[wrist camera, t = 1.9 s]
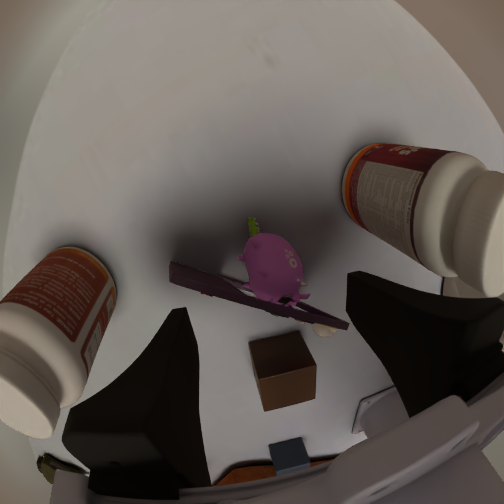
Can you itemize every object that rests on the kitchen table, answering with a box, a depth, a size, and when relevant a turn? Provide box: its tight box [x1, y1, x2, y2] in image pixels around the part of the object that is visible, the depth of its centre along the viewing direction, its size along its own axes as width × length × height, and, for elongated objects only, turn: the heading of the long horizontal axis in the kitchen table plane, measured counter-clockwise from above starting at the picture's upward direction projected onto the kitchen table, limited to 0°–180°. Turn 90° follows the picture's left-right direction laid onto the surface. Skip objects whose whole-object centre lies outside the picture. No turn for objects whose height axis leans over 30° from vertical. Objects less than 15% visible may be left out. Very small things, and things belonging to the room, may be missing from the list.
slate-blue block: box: [269, 437, 310, 476], centre depth 26 cm, size 4×4×4 cm
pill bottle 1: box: [0, 247, 116, 439], centre depth 11 cm, size 6×6×11 cm
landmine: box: [37, 455, 82, 484], centre depth 25 cm, size 14×3×15 cm
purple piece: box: [169, 217, 350, 337], centre depth 15 cm, size 7×5×9 cm
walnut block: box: [248, 331, 317, 412], centre depth 20 cm, size 4×4×4 cm
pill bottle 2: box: [342, 143, 504, 297], centre depth 12 cm, size 6×6×11 cm
